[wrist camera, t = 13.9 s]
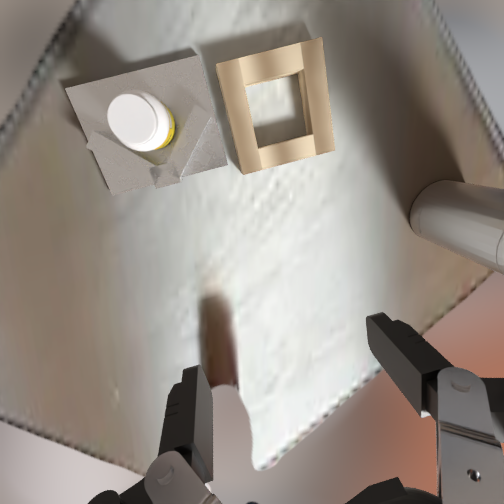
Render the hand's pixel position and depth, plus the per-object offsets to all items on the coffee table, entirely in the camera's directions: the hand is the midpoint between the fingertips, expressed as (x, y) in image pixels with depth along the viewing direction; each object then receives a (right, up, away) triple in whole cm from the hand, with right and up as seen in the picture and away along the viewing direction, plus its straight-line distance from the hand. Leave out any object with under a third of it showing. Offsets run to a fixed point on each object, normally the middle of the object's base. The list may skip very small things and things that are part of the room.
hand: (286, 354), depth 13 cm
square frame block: (+1, +22, +22) cm, 31 cm away
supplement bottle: (-13, +20, +20) cm, 31 cm away
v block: (-14, +20, +21) cm, 32 cm away
